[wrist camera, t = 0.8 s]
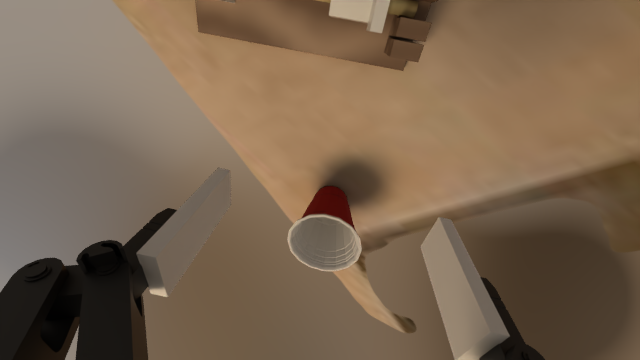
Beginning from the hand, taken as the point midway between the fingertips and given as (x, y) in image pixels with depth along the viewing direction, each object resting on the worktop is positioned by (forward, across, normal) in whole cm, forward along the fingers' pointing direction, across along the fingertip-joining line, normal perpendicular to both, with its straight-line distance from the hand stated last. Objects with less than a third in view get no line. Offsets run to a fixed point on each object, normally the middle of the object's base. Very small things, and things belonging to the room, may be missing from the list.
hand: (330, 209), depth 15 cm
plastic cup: (+24, +2, -17) cm, 29 cm away
